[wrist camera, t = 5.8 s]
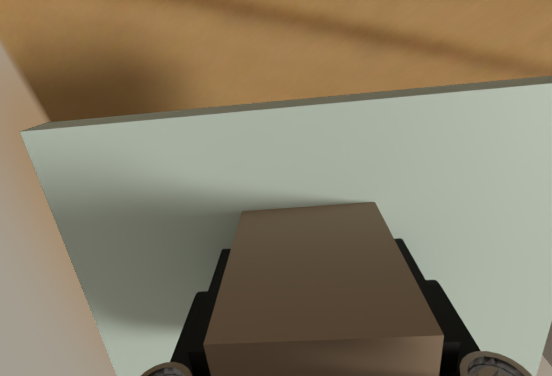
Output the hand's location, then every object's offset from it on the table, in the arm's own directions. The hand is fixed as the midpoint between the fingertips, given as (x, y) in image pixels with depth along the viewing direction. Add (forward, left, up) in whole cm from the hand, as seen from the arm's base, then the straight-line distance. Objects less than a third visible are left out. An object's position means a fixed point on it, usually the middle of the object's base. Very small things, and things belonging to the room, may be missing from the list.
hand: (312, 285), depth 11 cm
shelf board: (0, 0, -2) cm, 2 cm away
